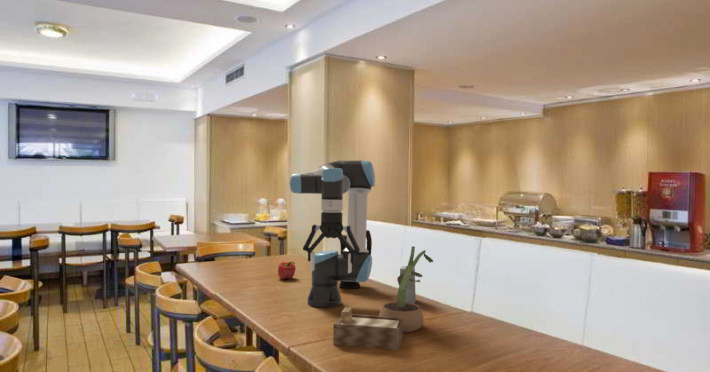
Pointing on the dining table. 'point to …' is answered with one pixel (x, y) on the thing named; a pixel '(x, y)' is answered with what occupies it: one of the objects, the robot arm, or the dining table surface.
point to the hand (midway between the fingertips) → (330, 271)
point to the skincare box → (409, 287)
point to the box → (368, 334)
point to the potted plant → (401, 308)
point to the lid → (365, 320)
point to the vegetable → (286, 270)
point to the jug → (369, 245)
